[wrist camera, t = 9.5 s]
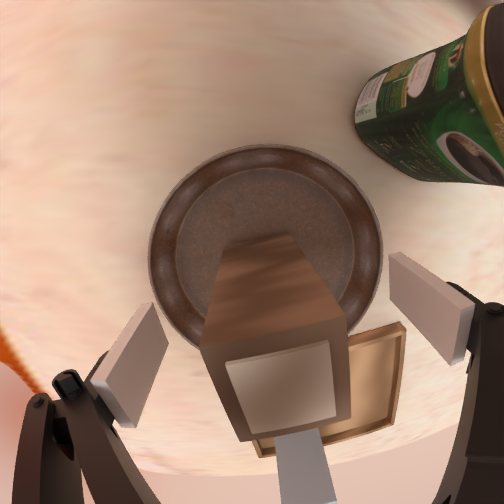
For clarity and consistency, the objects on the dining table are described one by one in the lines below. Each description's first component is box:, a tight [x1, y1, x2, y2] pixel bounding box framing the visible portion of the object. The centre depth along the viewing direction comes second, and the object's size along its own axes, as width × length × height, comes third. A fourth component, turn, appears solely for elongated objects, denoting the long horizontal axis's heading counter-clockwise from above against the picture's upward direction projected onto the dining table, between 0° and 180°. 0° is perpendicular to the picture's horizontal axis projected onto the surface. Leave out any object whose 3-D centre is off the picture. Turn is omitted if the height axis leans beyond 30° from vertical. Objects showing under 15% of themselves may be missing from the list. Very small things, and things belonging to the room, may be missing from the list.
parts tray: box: [252, 322, 406, 458], centre depth 27 cm, size 17×15×2 cm
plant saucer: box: [148, 144, 383, 350], centre depth 22 cm, size 18×18×3 cm
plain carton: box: [274, 428, 337, 504], centre depth 22 cm, size 4×5×12 cm
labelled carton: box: [199, 232, 351, 442], centre depth 15 cm, size 4×5×12 cm
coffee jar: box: [354, 3, 504, 187], centre depth 11 cm, size 10×8×19 cm
